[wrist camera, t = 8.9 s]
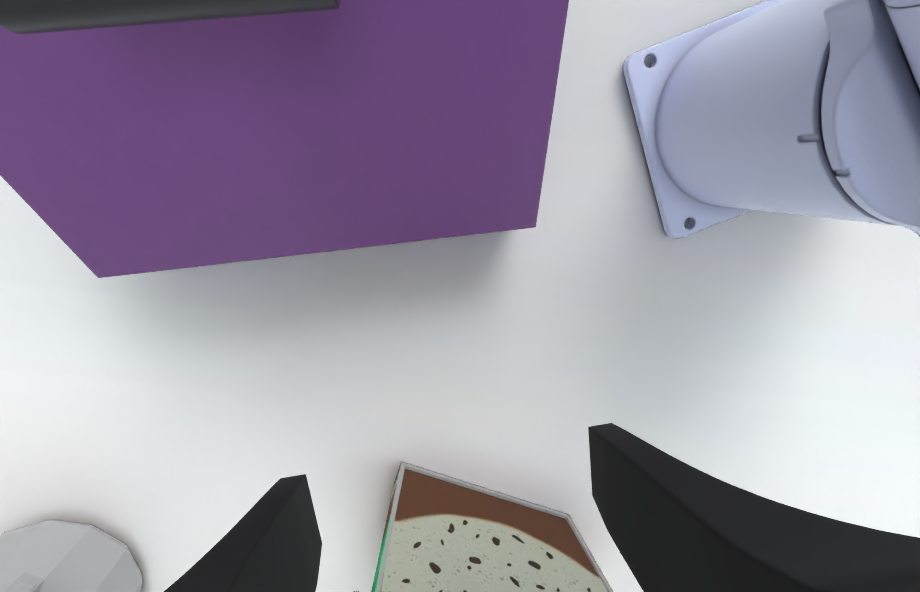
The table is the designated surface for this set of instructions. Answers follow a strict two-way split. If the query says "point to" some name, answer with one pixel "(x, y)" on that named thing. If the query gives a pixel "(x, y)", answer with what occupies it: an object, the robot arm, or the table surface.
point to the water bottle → (65, 560)
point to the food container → (478, 541)
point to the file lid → (274, 123)
